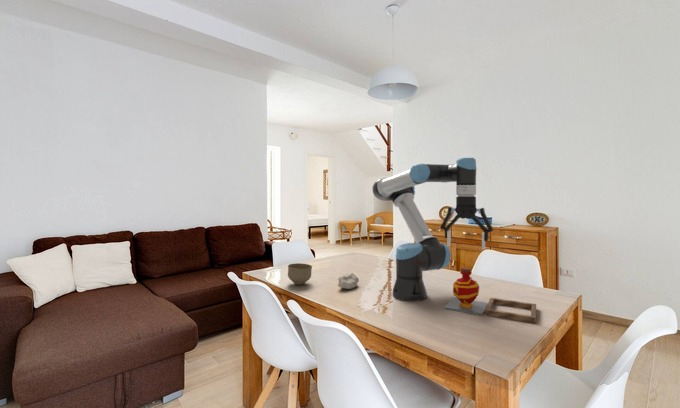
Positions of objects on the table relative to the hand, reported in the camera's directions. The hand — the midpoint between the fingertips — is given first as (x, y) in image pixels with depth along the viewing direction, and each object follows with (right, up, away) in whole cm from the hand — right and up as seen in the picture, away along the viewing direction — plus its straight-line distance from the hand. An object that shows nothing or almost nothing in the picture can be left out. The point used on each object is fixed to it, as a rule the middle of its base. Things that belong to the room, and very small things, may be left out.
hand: (465, 247), depth 134 cm
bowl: (-73, -24, +36) cm, 84 cm away
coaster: (0, -24, -1) cm, 24 cm away
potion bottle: (0, -24, -1) cm, 24 cm away
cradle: (+15, -24, -8) cm, 29 cm away
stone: (-47, -24, +28) cm, 60 cm away
